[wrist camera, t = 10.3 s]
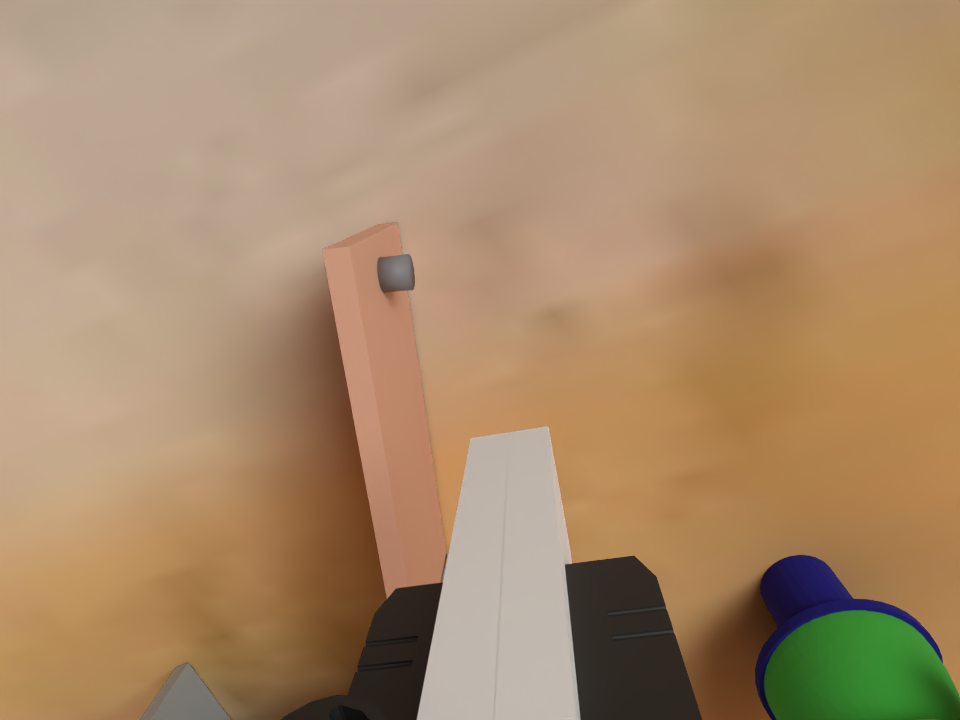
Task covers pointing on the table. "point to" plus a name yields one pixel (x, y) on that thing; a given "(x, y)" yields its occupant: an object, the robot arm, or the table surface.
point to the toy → (845, 653)
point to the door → (388, 402)
